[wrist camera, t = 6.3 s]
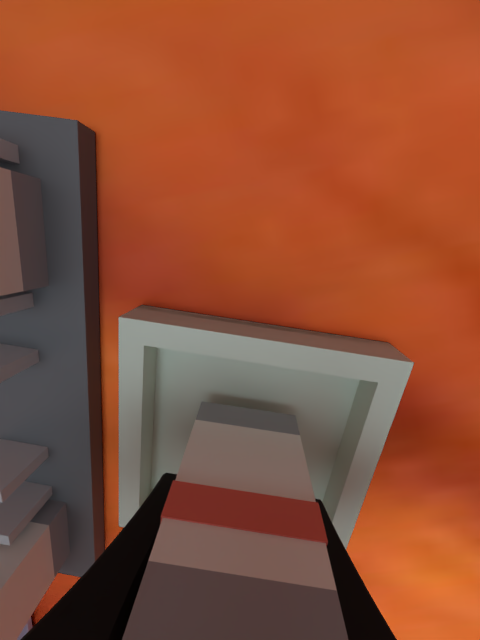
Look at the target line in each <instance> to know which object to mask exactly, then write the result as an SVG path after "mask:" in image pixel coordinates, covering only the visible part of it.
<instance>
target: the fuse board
mask: <svg viewBox="0 0 480 640" xmlns="http://www.w3.org/2000/svg"><path fill="white" fill-rule="evenodd" d="M0 167H1V168H4V169H8V170H11V171H15V172H18V173H22V174H25V175H29V176H32V177H36V178H39V179H40V180H41V193H42V205H43V218H44V230H45V243H46V256H47V268H48V281H49V286H47V287H42V288H37V289H32V290H27V291H22V292H17V293H12V294H7V295H2V296H0V544H4V545H9V546H10V545H11V544H12V543H13V541H14V540H15V539H16V538H17V537H18V535H19V534H20V533H21V532H22V531H23V529H24V528H25V527H26V526H27V525H28V523H29V522H30V521H31V520H32V518H33V517H34V516H35V515H36V514H37V512H38V511H39V510H40V509H41V508H42V506H43V505H44V504H45V503H46V502H47V500H48V499H50V500H55V501H61V502H66V508H67V520H68V533H69V546H70V554H69V555H68V557H67V559H66V560H65V562H64V564H63V565H62V567H61V568H60V570H59V572H58V573H62V574H67V575H73V576H78V577H82V576H83V575H84V574H85V573H86V571H87V570H88V569H89V568H90V567H91V566H92V565H93V564H94V562H95V561H96V560H97V559H98V558H99V557H100V556H101V554H102V553H103V552H104V551H105V543H104V500H103V456H102V413H101V370H100V327H99V284H98V241H97V198H96V155H95V132H94V131H92V130H91V129H89V128H88V127H86V126H85V125H83V124H82V123H80V122H79V121H77V120H70V119H62V118H55V117H47V116H39V115H31V114H24V113H16V112H8V111H0Z"/></svg>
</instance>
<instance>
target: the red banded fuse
mask: <svg viewBox="0 0 480 640" xmlns="http://www.w3.org/2000/svg"><path fill="white" fill-rule="evenodd" d="M327 544H328V540H327V536H326V532H325V527H324V523H323V519H322V515H321V511H320V507H319V503H317V502H316V501H315V496H314V492H313V488H312V484H311V480H310V475H309V471H308V467H307V463H306V458H305V454H304V450H303V446H302V442H301V437H300V433H299V429H298V425H297V420H296V416H295V415H290V414H283V413H277V412H270V411H263V410H257V409H250V408H243V407H237V406H230V405H223V404H217V403H210V402H204V401H202V402H201V405H200V408H199V411H198V414H197V417H196V420H195V423H194V426H193V429H192V431H191V434H190V437H189V440H188V443H187V446H186V449H185V452H184V455H183V458H182V461H181V464H180V467H179V470H178V473H177V476H176V479H175V480H173V482H172V485H171V488H170V491H169V493H168V496H167V499H166V502H165V505H164V508H163V511H162V514H161V520H160V527H159V530H158V533H157V536H156V539H155V542H154V545H153V548H152V551H151V554H150V557H149V560H148V563H147V566H146V569H145V572H144V575H143V578H142V581H141V584H140V587H139V590H138V593H137V596H136V599H135V602H134V605H133V608H132V611H131V614H130V617H129V620H128V623H127V626H126V629H125V632H124V635H123V638H122V640H348V636H347V632H346V627H345V623H344V619H343V615H342V610H341V606H340V602H339V598H338V594H337V589H336V585H335V581H334V577H333V572H332V568H331V564H330V560H329V556H328V551H327Z"/></svg>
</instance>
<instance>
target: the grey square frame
mask: <svg viewBox="0 0 480 640" xmlns="http://www.w3.org/2000/svg"><path fill="white" fill-rule="evenodd" d="M413 364H414V362H412V361H411V360H410V359H409V358H407V357H406V356H405V355H404V354H402V353H401V352H400V351H398V350H397V349H396V348H395V347H393V346H392V345H391V344H390V343H388V342H381V341H375V340H368V339H362V338H355V337H349V336H342V335H336V334H329V333H322V332H316V331H309V330H303V329H296V328H290V327H283V326H277V325H270V324H264V323H257V322H251V321H244V320H238V319H231V318H224V317H218V316H211V315H205V314H198V313H192V312H185V311H179V310H172V309H166V308H159V307H153V306H146V305H141V306H139V307H137V308H135V309H133V310H131V311H129V312H127V313H125V314H123V315H121V316H120V317H119V527H125V526H126V524H127V523H128V522H129V521H130V519H131V518H132V517H133V516H134V514H135V513H136V512H137V511H138V509H139V508H140V507H141V505H142V504H143V503H144V501H145V500H146V499H147V497H148V496H149V494H150V493H151V492H152V490H153V489H154V487H155V486H156V484H157V483H158V481H159V480H160V478H161V477H162V475H163V474H165V473H172V474H177V473H178V470H179V467H180V464H181V461H182V458H183V455H184V452H185V449H186V446H187V443H188V440H189V437H190V434H191V431H192V429H193V426H194V423H195V420H196V417H197V414H198V411H199V408H200V405H201V402H202V401H204V402H210V403H217V404H223V405H230V406H237V407H243V408H250V409H257V410H263V411H270V412H277V413H283V414H290V415H295V416H296V420H297V425H298V429H299V433H300V437H301V442H302V446H303V450H304V454H305V458H306V463H307V467H308V471H309V475H310V480H311V484H312V488H313V492H314V496H315V499H320V500H321V501H322V503H323V505H324V507H325V509H326V511H327V513H328V515H329V517H330V519H331V521H332V523H333V526H334V528H335V530H336V532H337V534H338V536H339V538H340V540H341V541H342V543H343V545H344V547H345V549H346V548H347V545H348V542H349V540H350V537H351V534H352V531H353V529H354V526H355V523H356V520H357V518H358V515H359V512H360V509H361V507H362V504H363V501H364V499H365V496H366V493H367V490H368V488H369V485H370V482H371V479H372V477H373V474H374V471H375V468H376V466H377V463H378V460H379V457H380V455H381V452H382V449H383V446H384V444H385V441H386V438H387V436H388V433H389V430H390V427H391V425H392V422H393V419H394V416H395V414H396V411H397V408H398V405H399V403H400V400H401V397H402V394H403V392H404V389H405V386H406V384H407V381H408V378H409V375H410V373H411V370H412V367H413Z"/></svg>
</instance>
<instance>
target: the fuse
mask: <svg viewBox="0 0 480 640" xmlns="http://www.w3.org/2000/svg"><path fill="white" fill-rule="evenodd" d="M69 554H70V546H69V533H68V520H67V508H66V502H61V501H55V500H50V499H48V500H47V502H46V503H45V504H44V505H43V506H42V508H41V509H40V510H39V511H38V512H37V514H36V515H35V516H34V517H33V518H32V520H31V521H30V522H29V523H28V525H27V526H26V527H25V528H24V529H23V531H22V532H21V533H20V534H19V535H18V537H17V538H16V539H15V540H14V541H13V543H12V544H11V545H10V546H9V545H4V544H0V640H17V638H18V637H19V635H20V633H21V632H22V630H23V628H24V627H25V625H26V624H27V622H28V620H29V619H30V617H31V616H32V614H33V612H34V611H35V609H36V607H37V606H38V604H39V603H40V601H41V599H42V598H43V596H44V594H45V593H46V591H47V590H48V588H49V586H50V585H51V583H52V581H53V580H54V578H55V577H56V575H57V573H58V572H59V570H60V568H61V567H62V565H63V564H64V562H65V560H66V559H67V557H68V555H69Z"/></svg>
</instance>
